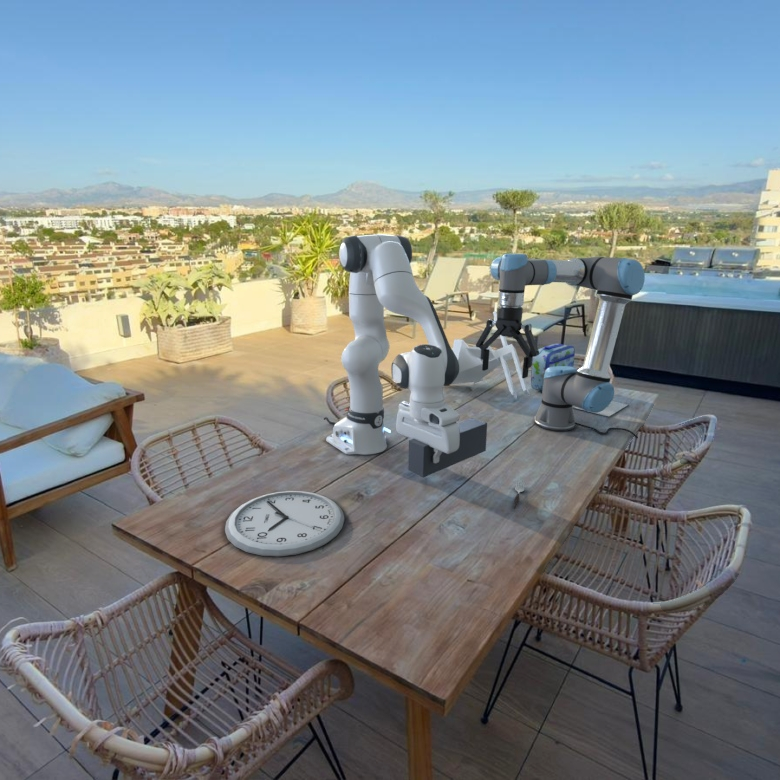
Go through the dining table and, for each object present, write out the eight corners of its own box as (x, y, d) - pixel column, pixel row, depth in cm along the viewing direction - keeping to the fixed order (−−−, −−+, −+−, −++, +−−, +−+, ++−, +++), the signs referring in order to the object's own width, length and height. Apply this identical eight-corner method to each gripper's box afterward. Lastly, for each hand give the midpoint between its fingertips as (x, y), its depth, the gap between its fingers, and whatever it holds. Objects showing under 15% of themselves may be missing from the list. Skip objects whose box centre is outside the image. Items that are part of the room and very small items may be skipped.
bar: (470, 445, 155) (472, 417, 153) (485, 450, 151) (487, 422, 149) (408, 470, 139) (408, 440, 137) (423, 477, 135) (423, 446, 133)
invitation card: (608, 416, 214) (573, 407, 224) (608, 416, 214) (573, 408, 224) (628, 404, 229) (594, 396, 238) (628, 405, 229) (594, 397, 238)
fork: (509, 509, 142) (509, 503, 141) (516, 484, 156) (517, 477, 156) (519, 511, 141) (519, 504, 140) (525, 485, 155) (526, 479, 155)
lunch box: (547, 395, 239) (552, 351, 233) (526, 390, 247) (530, 347, 240) (574, 384, 257) (579, 343, 251) (554, 380, 264) (558, 339, 258)
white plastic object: (461, 429, 252) (437, 405, 227) (444, 352, 274) (420, 323, 250) (535, 404, 240) (518, 377, 215) (510, 326, 262) (492, 293, 237)
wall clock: (344, 547, 121) (211, 552, 118) (344, 554, 121) (212, 558, 119) (344, 486, 149) (237, 489, 147) (344, 491, 150) (237, 494, 147)
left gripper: (390, 401, 140) (390, 449, 144) (447, 421, 125) (445, 474, 129) (407, 396, 144) (407, 443, 148) (464, 416, 129) (462, 467, 133)
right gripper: (467, 303, 163) (463, 369, 169) (545, 311, 149) (537, 383, 155) (479, 301, 169) (474, 364, 175) (554, 309, 155) (547, 377, 161)
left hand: (425, 458), depth 138 cm, fingers closed on bar, 5 cm apart
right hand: (504, 373), depth 165 cm, fingers open, 13 cm apart
